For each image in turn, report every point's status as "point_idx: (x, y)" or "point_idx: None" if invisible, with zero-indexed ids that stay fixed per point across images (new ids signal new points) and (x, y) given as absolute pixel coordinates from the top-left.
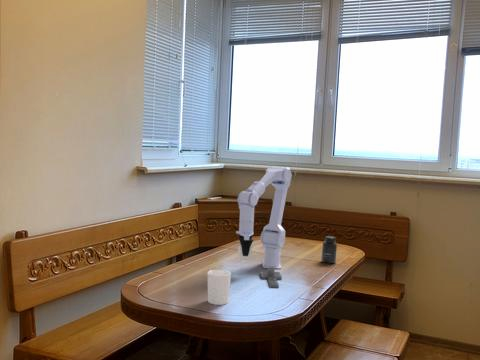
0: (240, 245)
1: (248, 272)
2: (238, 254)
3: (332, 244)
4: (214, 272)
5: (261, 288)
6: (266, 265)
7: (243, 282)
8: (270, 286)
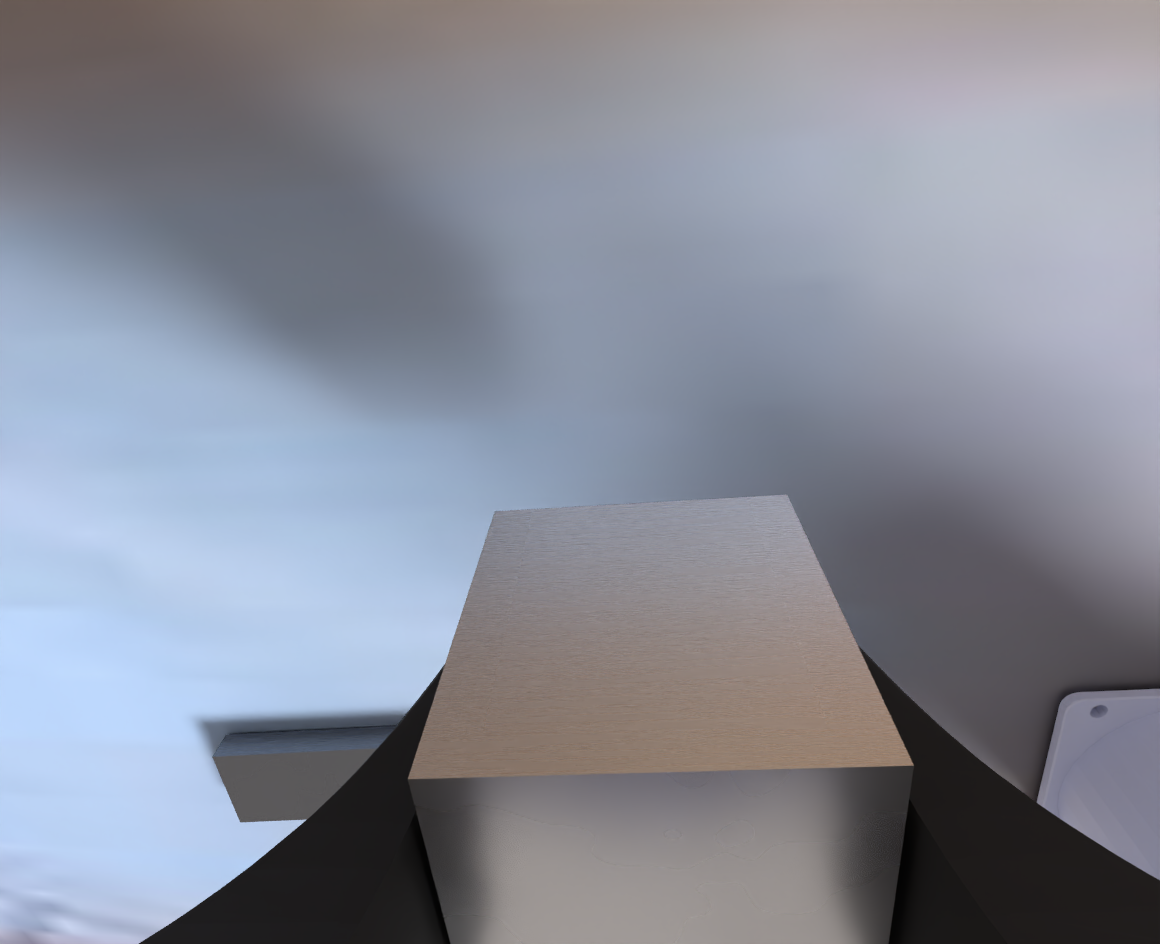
0: (423, 794)
1: (830, 517)
2: (713, 532)
3: None
4: None
5: (150, 658)
6: (1114, 744)
7: (303, 470)
8: (223, 742)
